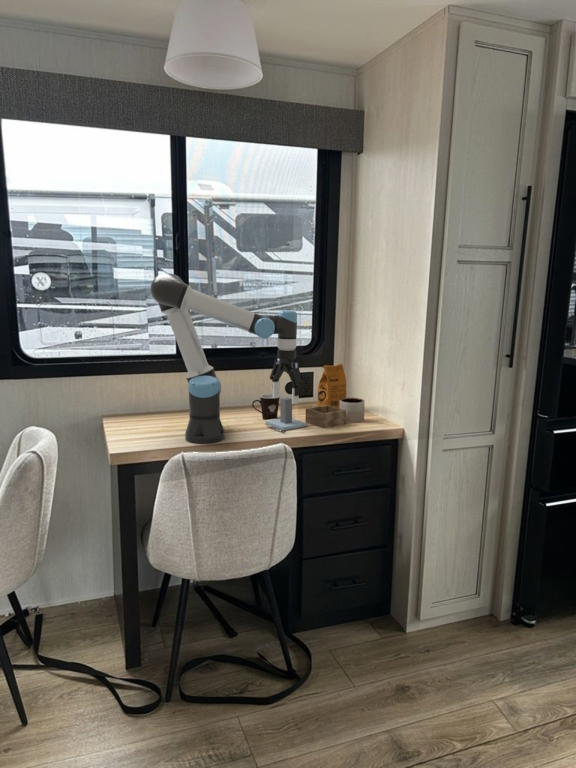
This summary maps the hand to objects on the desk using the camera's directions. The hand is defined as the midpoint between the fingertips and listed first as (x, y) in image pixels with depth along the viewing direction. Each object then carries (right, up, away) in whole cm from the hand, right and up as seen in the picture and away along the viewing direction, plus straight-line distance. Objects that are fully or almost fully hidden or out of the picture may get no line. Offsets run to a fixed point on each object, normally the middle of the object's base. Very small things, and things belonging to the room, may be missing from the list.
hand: (285, 400), depth 240 cm
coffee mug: (-8, -9, +18) cm, 22 cm away
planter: (+29, -10, +13) cm, 33 cm away
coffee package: (+21, -6, +33) cm, 39 cm away
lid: (0, -12, +2) cm, 12 cm away
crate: (+17, -11, +7) cm, 21 cm away
